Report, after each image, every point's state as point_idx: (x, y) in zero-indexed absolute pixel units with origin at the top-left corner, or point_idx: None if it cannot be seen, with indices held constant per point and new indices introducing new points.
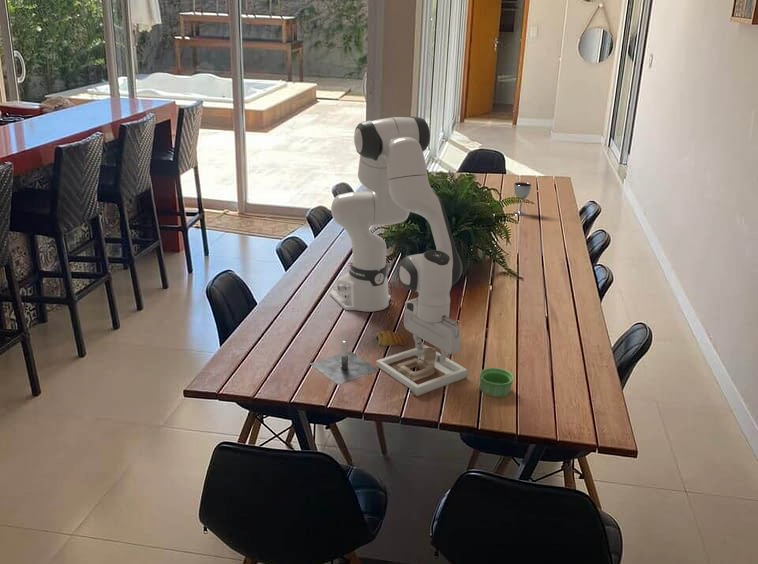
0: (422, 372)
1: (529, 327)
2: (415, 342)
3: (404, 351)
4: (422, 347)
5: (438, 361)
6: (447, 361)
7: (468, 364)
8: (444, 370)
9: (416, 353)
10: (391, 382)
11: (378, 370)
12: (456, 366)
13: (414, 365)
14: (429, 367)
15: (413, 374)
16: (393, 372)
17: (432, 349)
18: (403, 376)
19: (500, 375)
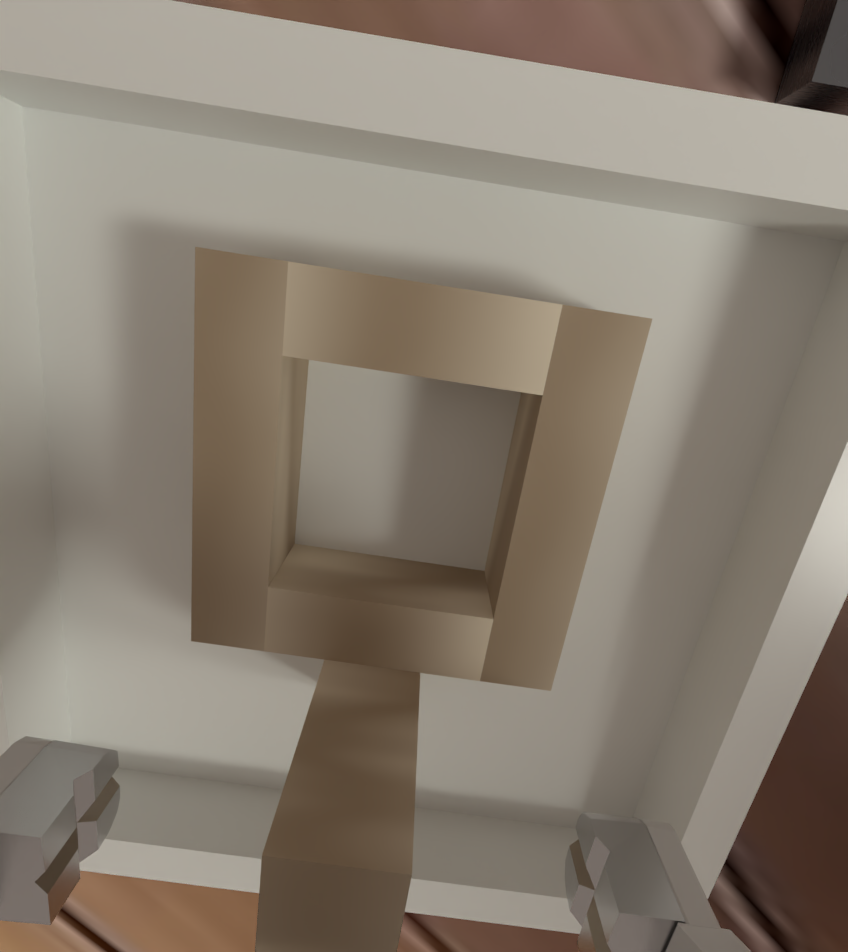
0: (204, 440)
1: None
2: (725, 938)
3: (796, 701)
4: (573, 891)
5: (76, 748)
6: (255, 850)
7: (224, 925)
8: (236, 725)
9: (668, 777)
10: (484, 52)
11: (829, 71)
12: None
13: (493, 560)
14: (256, 615)
15: (238, 283)
16: (530, 66)
17: (294, 943)
18: (295, 84)
19: None
